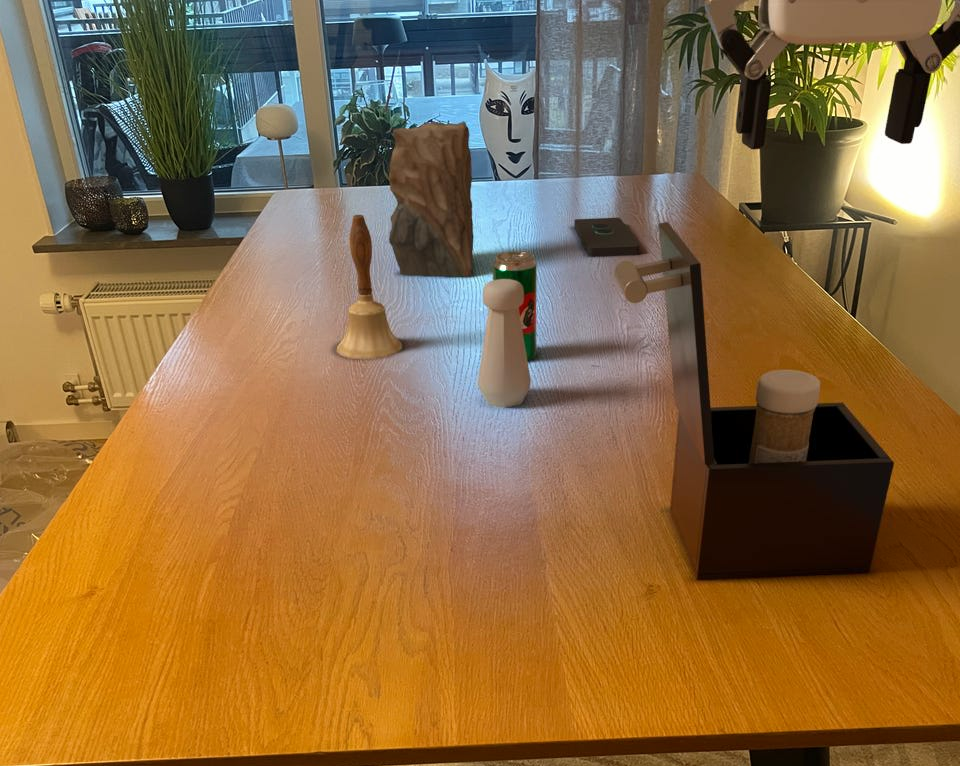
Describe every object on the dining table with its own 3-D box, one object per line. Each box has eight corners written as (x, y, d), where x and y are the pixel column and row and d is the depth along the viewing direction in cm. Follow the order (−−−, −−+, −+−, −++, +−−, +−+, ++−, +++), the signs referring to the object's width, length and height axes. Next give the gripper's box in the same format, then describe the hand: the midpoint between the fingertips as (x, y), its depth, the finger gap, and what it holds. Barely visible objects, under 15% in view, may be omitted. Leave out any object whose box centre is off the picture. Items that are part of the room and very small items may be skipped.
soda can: (539, 352, 123) (540, 250, 117) (532, 366, 119) (532, 262, 113) (499, 350, 124) (497, 249, 118) (490, 364, 120) (488, 261, 114)
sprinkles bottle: (750, 516, 86) (772, 363, 78) (802, 530, 84) (830, 374, 76) (728, 539, 83) (749, 381, 75) (781, 554, 81) (808, 393, 73)
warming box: (823, 507, 88) (843, 402, 83) (868, 576, 79) (894, 462, 73) (669, 514, 88) (678, 408, 83) (696, 583, 79) (709, 469, 73)
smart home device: (620, 216, 174) (641, 245, 157) (620, 226, 175) (640, 256, 158) (572, 218, 173) (588, 247, 157) (572, 228, 174) (588, 258, 158)
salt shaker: (484, 415, 108) (480, 292, 100) (473, 395, 112) (469, 276, 105) (536, 409, 109) (537, 287, 101) (524, 390, 113) (523, 272, 106)
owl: (389, 278, 152) (378, 132, 141) (411, 256, 162) (402, 118, 151) (471, 280, 150) (466, 132, 139) (487, 258, 160) (484, 118, 149)
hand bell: (416, 348, 126) (407, 213, 117) (365, 366, 121) (352, 227, 112) (373, 334, 131) (362, 204, 122) (323, 351, 126) (307, 216, 117)
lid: (667, 221, 74) (605, 235, 75) (700, 263, 65) (628, 278, 65) (683, 402, 82) (626, 414, 83) (714, 463, 73) (650, 475, 73)
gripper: (738, -194, 53) (706, 158, 63) (1062, -206, 53) (979, 148, 63) (708, -181, 59) (683, 138, 69) (998, -191, 60) (932, 129, 69)
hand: (824, 143), depth 66 cm, fingers open, 9 cm apart
